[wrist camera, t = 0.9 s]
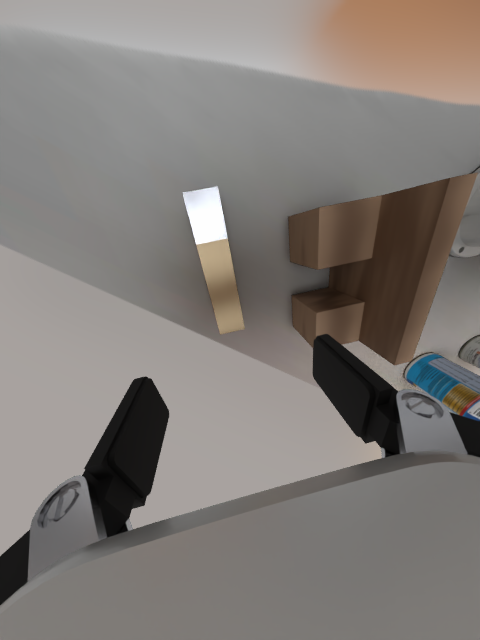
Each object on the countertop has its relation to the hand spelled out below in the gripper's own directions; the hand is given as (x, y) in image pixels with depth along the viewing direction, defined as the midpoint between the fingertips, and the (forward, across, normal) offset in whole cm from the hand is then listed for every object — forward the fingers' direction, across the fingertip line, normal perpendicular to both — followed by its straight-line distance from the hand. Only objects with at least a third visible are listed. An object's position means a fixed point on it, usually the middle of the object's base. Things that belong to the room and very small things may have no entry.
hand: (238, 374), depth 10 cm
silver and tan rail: (+16, 0, -4) cm, 17 cm away
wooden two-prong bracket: (+16, -14, 0) cm, 22 cm away
